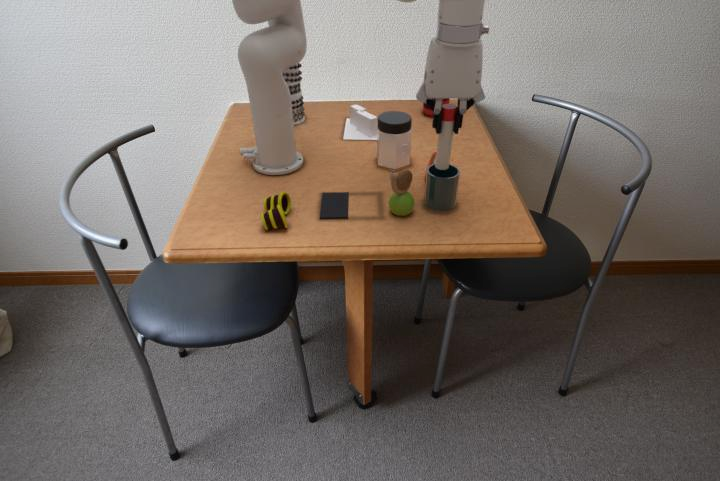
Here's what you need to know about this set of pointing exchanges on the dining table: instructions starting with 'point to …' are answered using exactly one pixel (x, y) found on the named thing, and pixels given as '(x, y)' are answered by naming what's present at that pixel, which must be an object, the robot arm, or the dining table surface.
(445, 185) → the pen cup
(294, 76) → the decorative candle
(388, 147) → the jar
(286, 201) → the opera glasses
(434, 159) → the candy bar
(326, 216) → the mat
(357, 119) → the napkin holder
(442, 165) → the marker
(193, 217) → the dining table surface
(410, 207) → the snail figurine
